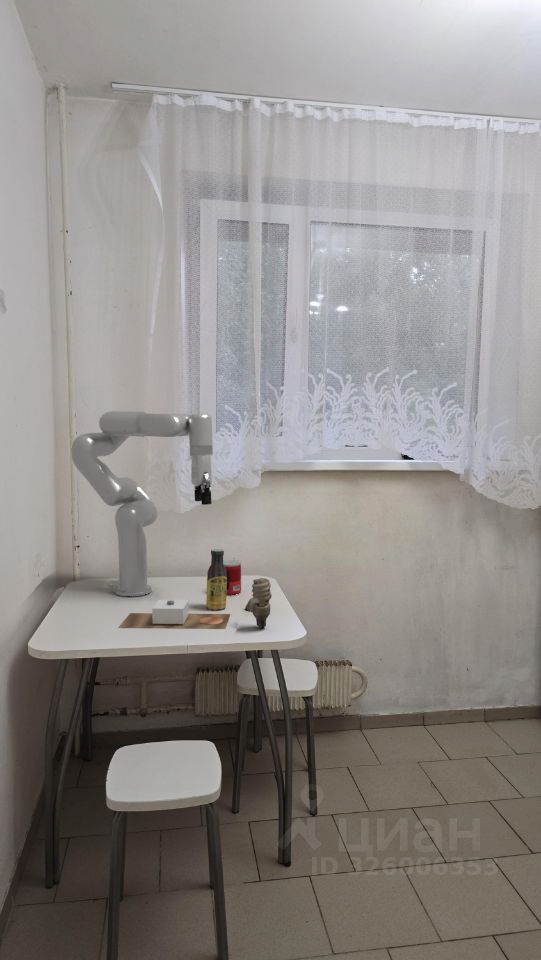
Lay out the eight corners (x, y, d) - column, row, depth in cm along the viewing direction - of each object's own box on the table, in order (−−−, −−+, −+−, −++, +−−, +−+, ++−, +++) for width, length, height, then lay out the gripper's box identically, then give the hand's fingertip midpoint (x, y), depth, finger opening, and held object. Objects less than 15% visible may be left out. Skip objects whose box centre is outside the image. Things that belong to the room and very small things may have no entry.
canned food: (242, 590, 231) (242, 559, 230) (239, 596, 223) (239, 564, 222) (221, 589, 232) (220, 559, 231) (217, 595, 224) (216, 564, 223)
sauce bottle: (209, 615, 202) (209, 552, 200) (203, 610, 207) (202, 548, 205) (229, 613, 204) (229, 550, 202) (223, 607, 210) (222, 547, 208)
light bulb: (273, 631, 187) (273, 579, 186) (254, 632, 186) (254, 581, 184) (267, 625, 193) (267, 575, 191) (249, 626, 191) (249, 576, 190)
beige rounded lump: (261, 614, 203) (261, 583, 202) (243, 609, 208) (243, 579, 207) (273, 610, 207) (273, 580, 206) (255, 606, 212) (255, 576, 211)
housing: (152, 623, 189) (152, 605, 188) (159, 614, 198) (158, 597, 197) (183, 623, 189) (183, 606, 188) (188, 614, 197) (188, 597, 197)
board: (117, 631, 187) (117, 627, 187) (130, 616, 201) (130, 612, 201) (225, 633, 186) (225, 628, 186) (230, 617, 200) (230, 613, 199)
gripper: (184, 450, 222) (186, 500, 224) (195, 452, 206) (197, 506, 207) (206, 449, 225) (207, 499, 226) (219, 451, 208) (220, 504, 210)
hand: (203, 502), depth 217 cm, fingers open, 9 cm apart
